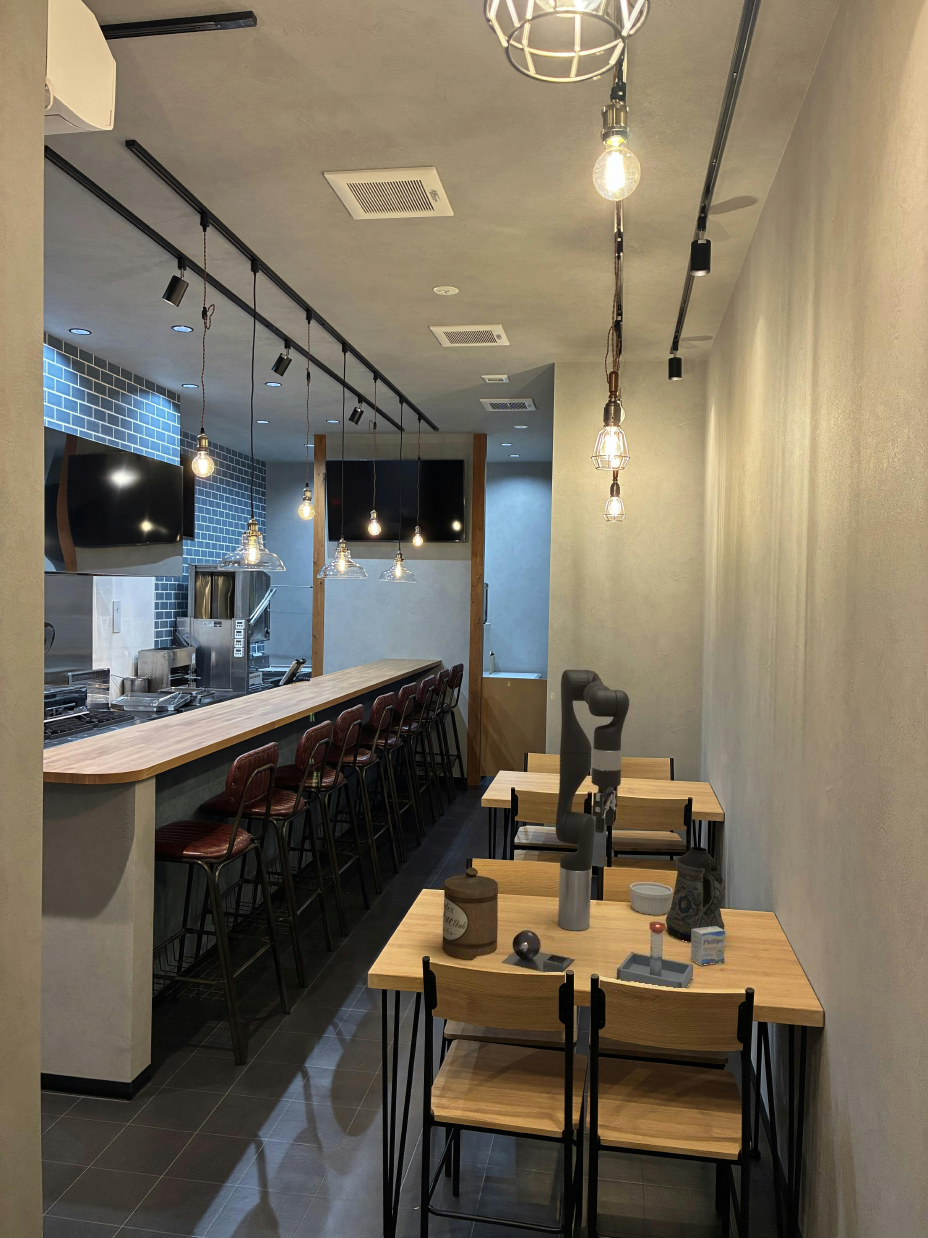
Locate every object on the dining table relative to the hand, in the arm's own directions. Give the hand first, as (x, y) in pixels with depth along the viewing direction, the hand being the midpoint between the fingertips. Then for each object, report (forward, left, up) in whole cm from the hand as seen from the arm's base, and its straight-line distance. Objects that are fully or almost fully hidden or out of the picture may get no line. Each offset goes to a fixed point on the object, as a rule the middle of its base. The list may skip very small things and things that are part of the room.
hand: (604, 828), depth 226 cm
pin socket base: (+7, -14, -36) cm, 39 cm away
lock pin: (+1, +15, -35) cm, 38 cm away
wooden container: (+7, -34, -36) cm, 50 cm away
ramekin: (-53, 0, -36) cm, 64 cm away
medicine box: (-19, +24, -36) cm, 47 cm away
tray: (+1, +15, -36) cm, 39 cm away
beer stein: (-38, +18, -36) cm, 55 cm away
